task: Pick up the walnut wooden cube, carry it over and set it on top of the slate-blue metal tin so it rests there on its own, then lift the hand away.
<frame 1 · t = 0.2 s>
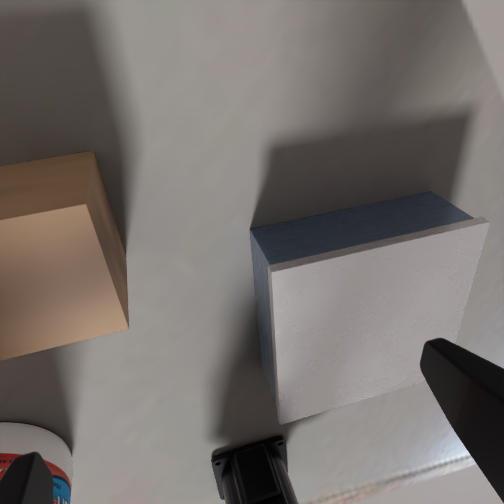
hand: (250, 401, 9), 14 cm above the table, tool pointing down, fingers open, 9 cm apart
walnut block: (49, 218, 20), on the table
fruit juice: (0, 460, 28), on the table
slate tin: (338, 284, 28), on the table
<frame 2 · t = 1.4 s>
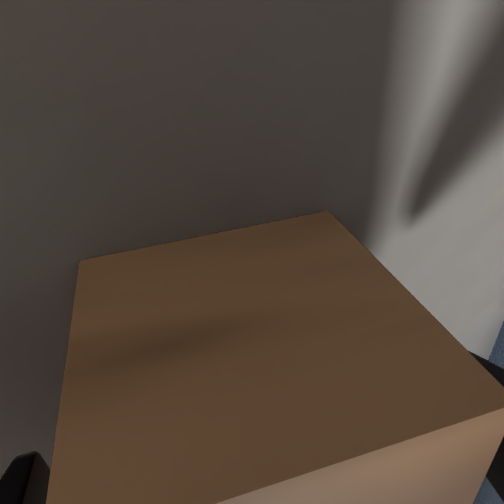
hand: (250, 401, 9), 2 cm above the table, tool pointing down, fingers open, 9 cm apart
walnut block: (224, 324, 11), on the table
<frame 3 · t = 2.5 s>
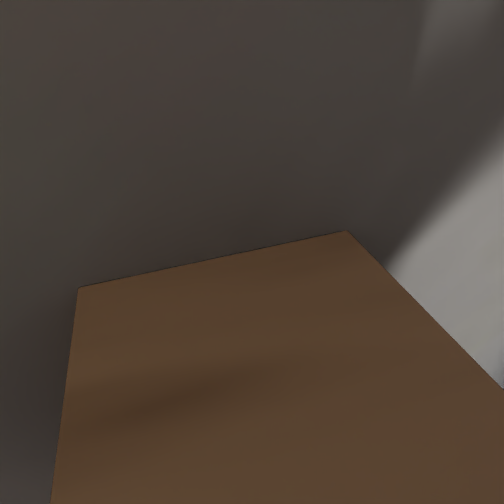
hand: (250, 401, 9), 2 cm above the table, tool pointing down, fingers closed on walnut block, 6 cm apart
walnut block: (234, 352, 11), on the table, touching gripper
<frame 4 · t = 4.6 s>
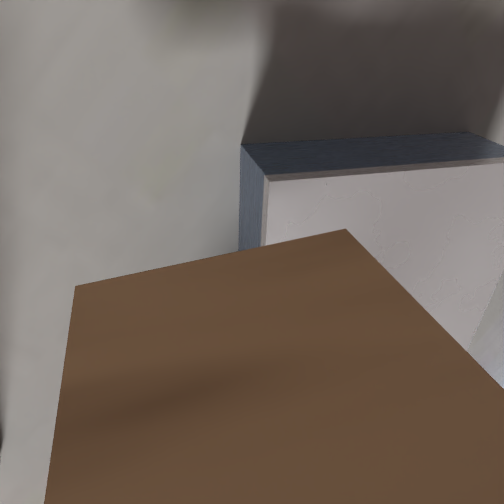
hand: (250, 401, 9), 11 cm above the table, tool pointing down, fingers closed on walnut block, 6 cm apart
walnut block: (232, 351, 10), point 10 cm above the table, touching gripper
slate tin: (341, 242, 23), on the table
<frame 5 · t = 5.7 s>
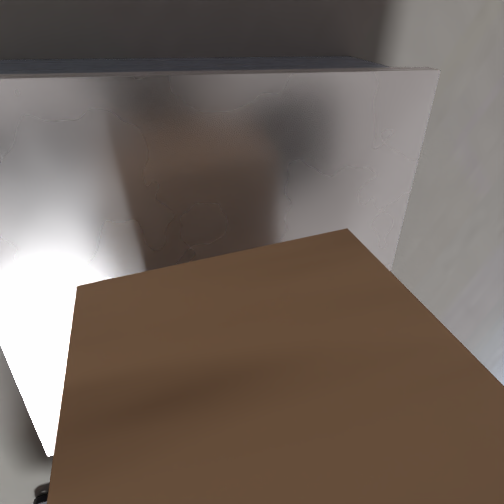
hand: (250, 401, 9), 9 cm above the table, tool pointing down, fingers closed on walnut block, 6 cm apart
walnut block: (233, 351, 10), point 7 cm above the table, touching gripper
slate tin: (191, 218, 17), on the table
when the fingers open (8 cm above the table, at t = 6.8 s): walnut block drops 1 cm, resting on slate tin.
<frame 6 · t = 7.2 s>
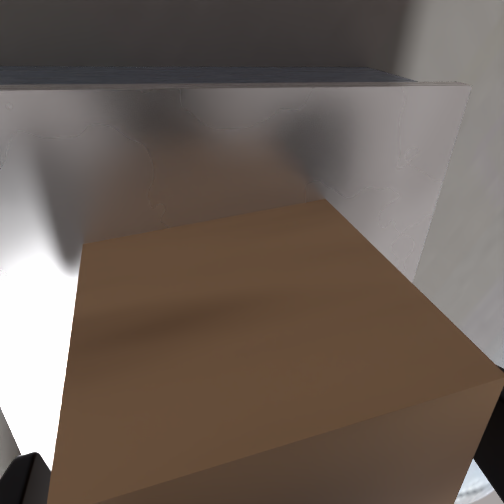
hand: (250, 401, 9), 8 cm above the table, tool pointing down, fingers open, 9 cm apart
walnut block: (223, 312, 12), point 5 cm above the table, touching slate tin
slate tin: (195, 234, 16), on the table, touching walnut block
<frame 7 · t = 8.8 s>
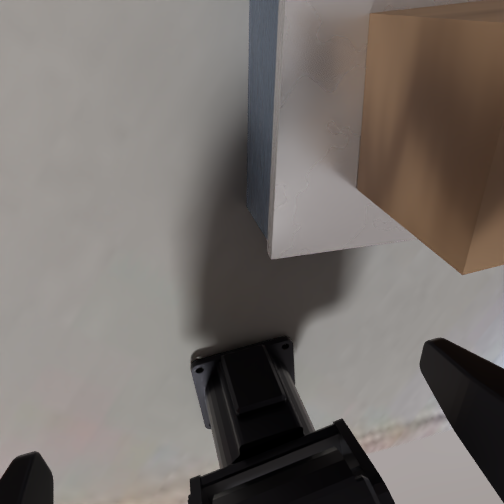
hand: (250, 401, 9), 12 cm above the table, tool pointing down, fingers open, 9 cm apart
walnut block: (437, 99, 15), point 5 cm above the table
slate tin: (370, 73, 19), on the table
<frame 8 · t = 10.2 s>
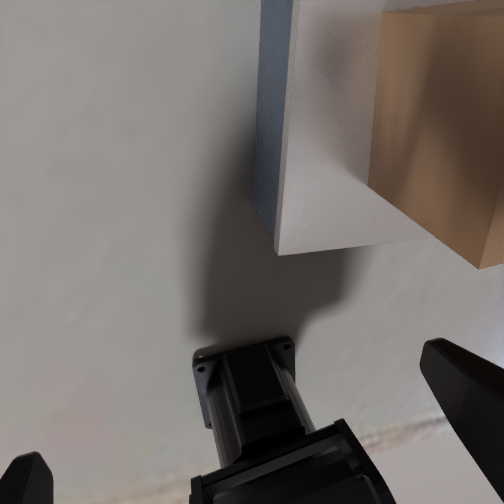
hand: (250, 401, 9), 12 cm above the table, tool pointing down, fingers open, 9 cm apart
walnut block: (447, 96, 15), point 5 cm above the table, touching slate tin
slate tin: (378, 73, 19), on the table, touching walnut block
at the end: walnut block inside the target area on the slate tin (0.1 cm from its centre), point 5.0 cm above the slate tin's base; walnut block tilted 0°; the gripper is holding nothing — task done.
